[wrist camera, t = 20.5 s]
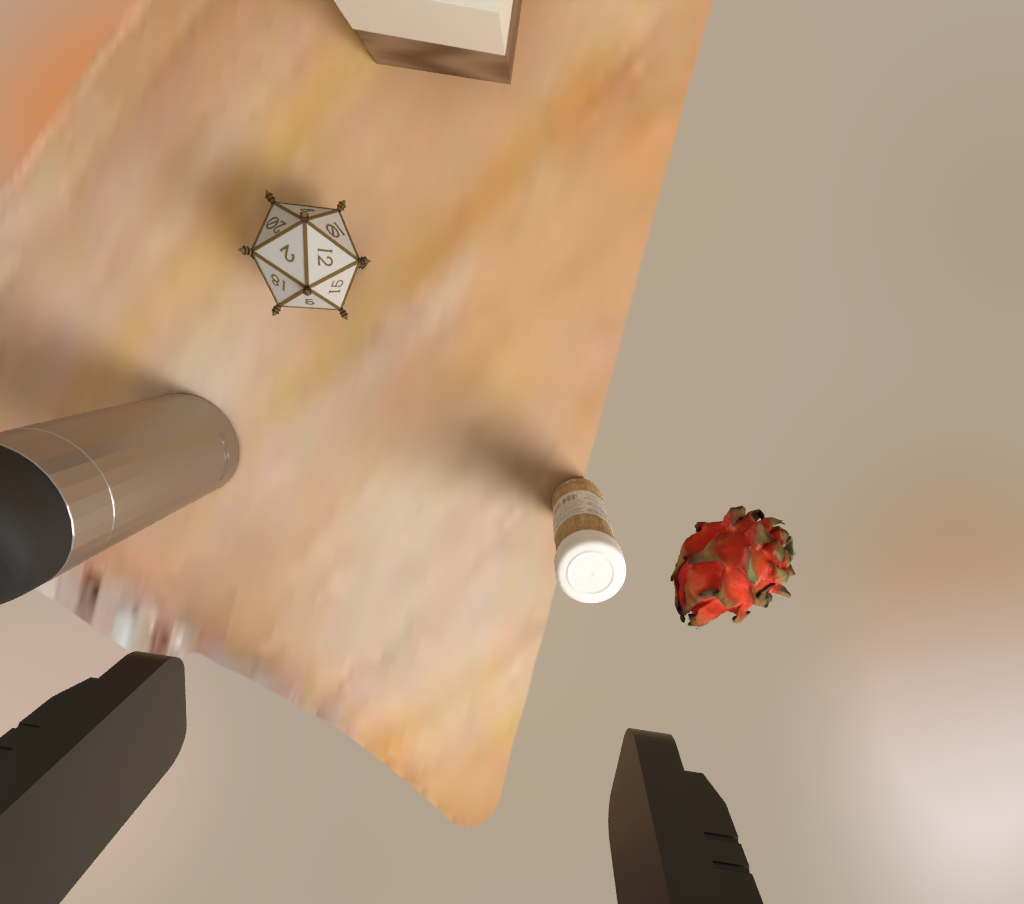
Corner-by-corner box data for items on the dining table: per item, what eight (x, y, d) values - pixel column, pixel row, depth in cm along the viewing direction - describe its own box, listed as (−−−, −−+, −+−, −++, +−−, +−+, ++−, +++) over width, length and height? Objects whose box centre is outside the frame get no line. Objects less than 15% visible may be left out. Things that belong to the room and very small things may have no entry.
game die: (325, 275, 46) (202, 263, 38) (357, 184, 41) (223, 149, 34) (375, 343, 43) (251, 344, 35) (416, 253, 38) (282, 232, 31)
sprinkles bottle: (563, 531, 47) (572, 615, 34) (543, 487, 46) (543, 556, 33) (611, 512, 46) (638, 591, 33) (591, 467, 45) (611, 530, 32)
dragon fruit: (768, 493, 47) (673, 577, 51) (723, 470, 41) (622, 566, 46) (842, 569, 41) (728, 656, 45) (802, 554, 36) (677, 654, 40)
